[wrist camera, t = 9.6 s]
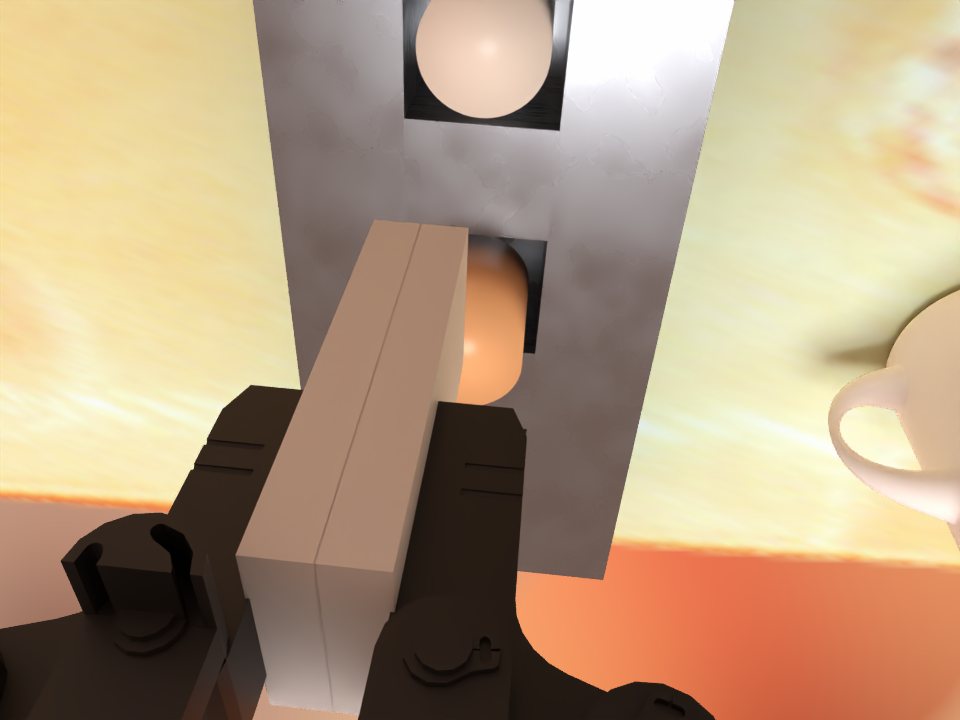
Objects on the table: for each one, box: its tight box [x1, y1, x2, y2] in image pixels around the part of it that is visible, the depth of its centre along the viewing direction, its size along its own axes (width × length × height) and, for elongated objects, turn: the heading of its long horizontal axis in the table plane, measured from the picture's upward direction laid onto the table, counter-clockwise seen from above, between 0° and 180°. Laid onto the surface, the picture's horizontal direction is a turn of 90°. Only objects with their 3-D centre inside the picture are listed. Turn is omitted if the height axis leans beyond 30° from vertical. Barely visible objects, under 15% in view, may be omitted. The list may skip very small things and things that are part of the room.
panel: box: [253, 0, 734, 580], centre depth 32 cm, size 32×14×6 cm, turn 178°
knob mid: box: [456, 234, 529, 405], centre depth 29 cm, size 4×4×5 cm
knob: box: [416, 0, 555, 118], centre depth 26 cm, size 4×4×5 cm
